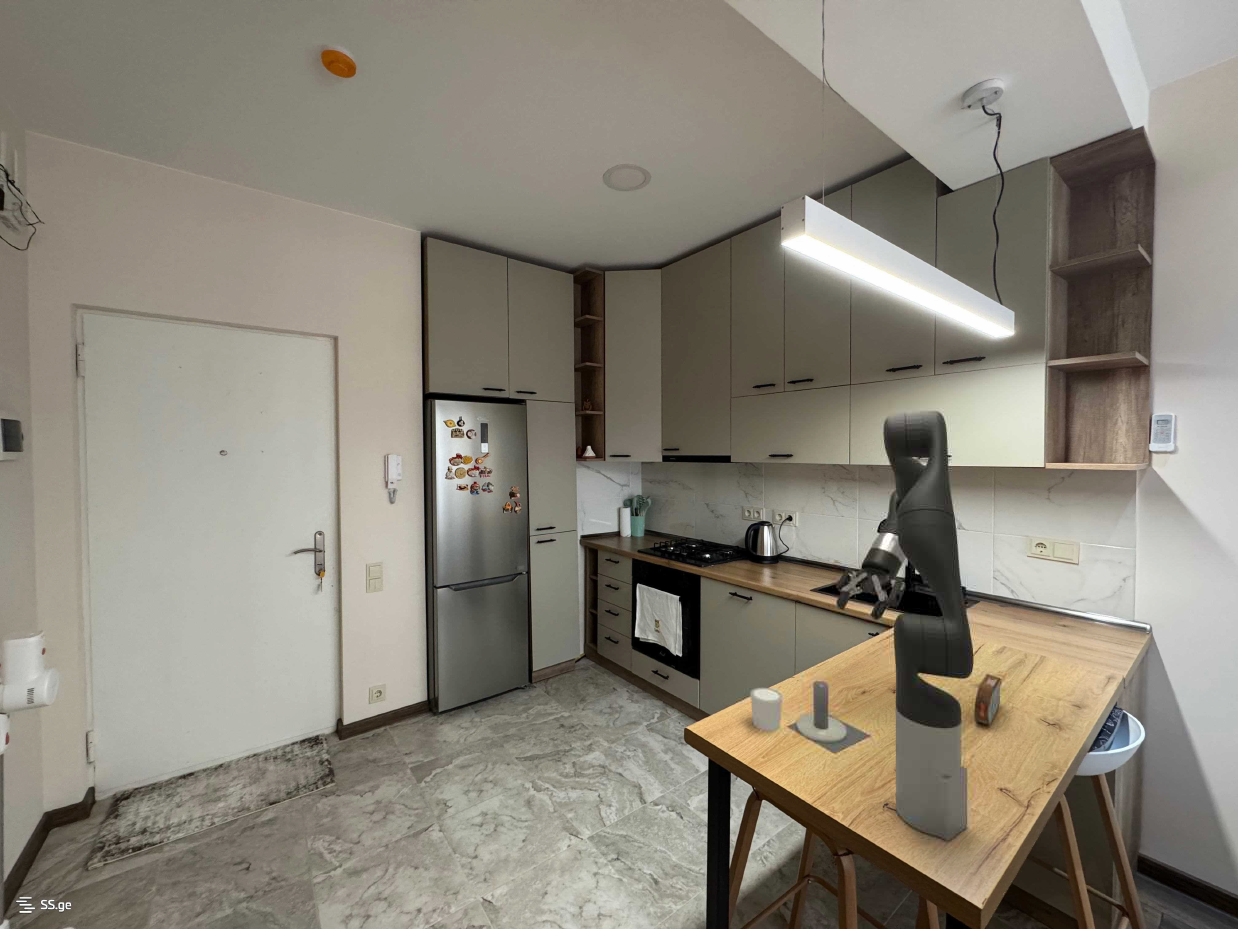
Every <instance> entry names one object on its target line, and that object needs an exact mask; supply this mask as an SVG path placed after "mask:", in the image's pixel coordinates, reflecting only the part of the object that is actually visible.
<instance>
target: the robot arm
mask: <svg viewBox="0 0 1238 929" xmlns="http://www.w3.org/2000/svg"><path fill="white" fill-rule="evenodd" d="M947 431H948V430H947V425H946V420H945V418H944V416H943V414H942V412H940V411H938V410H923V411H911V412H902V413H901V412H899V413H893V414H890V415H888V416H887V417H886V418H885V419H884V423H883V431H882V432H883V433H882V434H883V444H884V445H883V446H884V449H885V454H886V456H887V458H888V463H889V465H890V468H891V470H892V473H893V476H894V481H895V482H894V484H895V490H894V491H893V492H892V493H891V495H890V497H889V504H888V512H887V516H886V520H885V522H884V524H883V526H882V528H881V530H880V532H879V534H878V535H877V537H876V538H875V539H874V541H873V542H872V544H871V546H870V548H869V549H868V552H867V554H866V555H865V557H864V558H863V561H862V562H861V563H862V564H861V568H860V570H858V571H854V570H853V569H851V568H850V567H848V568H846V569H845V571H844V572H843V573H842V575H841V576H840V578H839V580H838V581H837V583H836V585H835V587H836V588H837V590H838V591H839V592H840V594H839V596H838V597H837V600H836V602H835V603H836V607H837V608H838V609H839V610H842V611H844V610H845V608H846V606H847V605H848V603H849V600H850V599H851V598H850V597H853V595H856V594H861V593H867V594H871V595H874V596H878V600H877V601H876V602H875V604H874V606H873V609H872V611H871V612H870V616H871V617H872V619H873V620H875V621H879V619H881V618H882V617H883V615H884V613H885V612H886V609H887V608H889V607H894V608H897V607H898V606H899V605H900V602H901V599H902V597H903V596H904V593H905V590H906V585H905V583H904V582H903V580H902V578H897V576H898V574H899V572H900V570H901V568H902V565H903V564H904V562H905V560H906V559H907V560H908V562H909V563H910V564H911V565H912V566H913V568H914V569H915V570H916V571H917V573H918V575H920V576H921V577H922V579H923V580H924V581H925V583H927V586H928V587H929V588H930V590H931V591H932V593H933V594H934V597H935V598H936V601H937V603H938V605H939V608H940V610H941V614H942V616H935V615H925V614H916V613H915V614H914V613H900V614H898V616H896V618H895V621H894V625H893V648H894V663H895V807H896V808H895V809H896V812H897V814H898V815H899V817H900V818H901V819H902V821H904V822H905V823H907V825H909V826H910V827H912V828H914V829H916V830H917V831H920V832H922V833H925V834H926V835H927V834H928V835H931V836H934V837H935V836H936V837H939V838H941V839H943V840H945V841H947V842H948V841H950V840H952V839H953V838H954V837H956V836H957V835H958V834H959V833H961V832H962V831H963V830H965V829H967V827H968V769H967V767H966V766H963V765H962V706H961V704H960V702H959V700H957V698H956V697H955V696H953V695H952V694H951V693H948V692H947V691H945V690H943V689H941V688H939V687H937V686H935V685H933V684H931V683H929V682H928V681H926V680H925V679H923V678H921V677H920V676H919V674H923V675H929V676H930V675H931V676H937V677H944V678H949V679H951V678H952V679H960V680H961V679H963V680H965V679H968V678H969V677H971V675H972V673H973V669H974V664H975V663H974V661H975V660H974V648H973V647H974V645H973V641H972V634H971V628H970V624H969V618H968V614H967V607H966V603H965V597H964V592H963V587H962V586H963V585H962V581H961V580H962V579H961V570H960V560H959V546H958V534H957V533H958V531H957V526H956V525H957V524H956V517H955V513H954V512H955V511H954V510H955V509H954V505H953V498H952V492H951V485H950V484H951V483H950V473H949V452H948V450H949V449H948V432H947ZM921 457H922V458H923V457H927V458H928V460H927V463H926V464H925V466H924V464H922V462H920V461H918V459H916V458H921ZM896 578H897V579H896ZM856 585H858V587H857V586H856ZM890 588H891V591H890V592H889V593H890V594H889V596H888V595H887V592H886V590H889V589H890Z"/></svg>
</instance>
